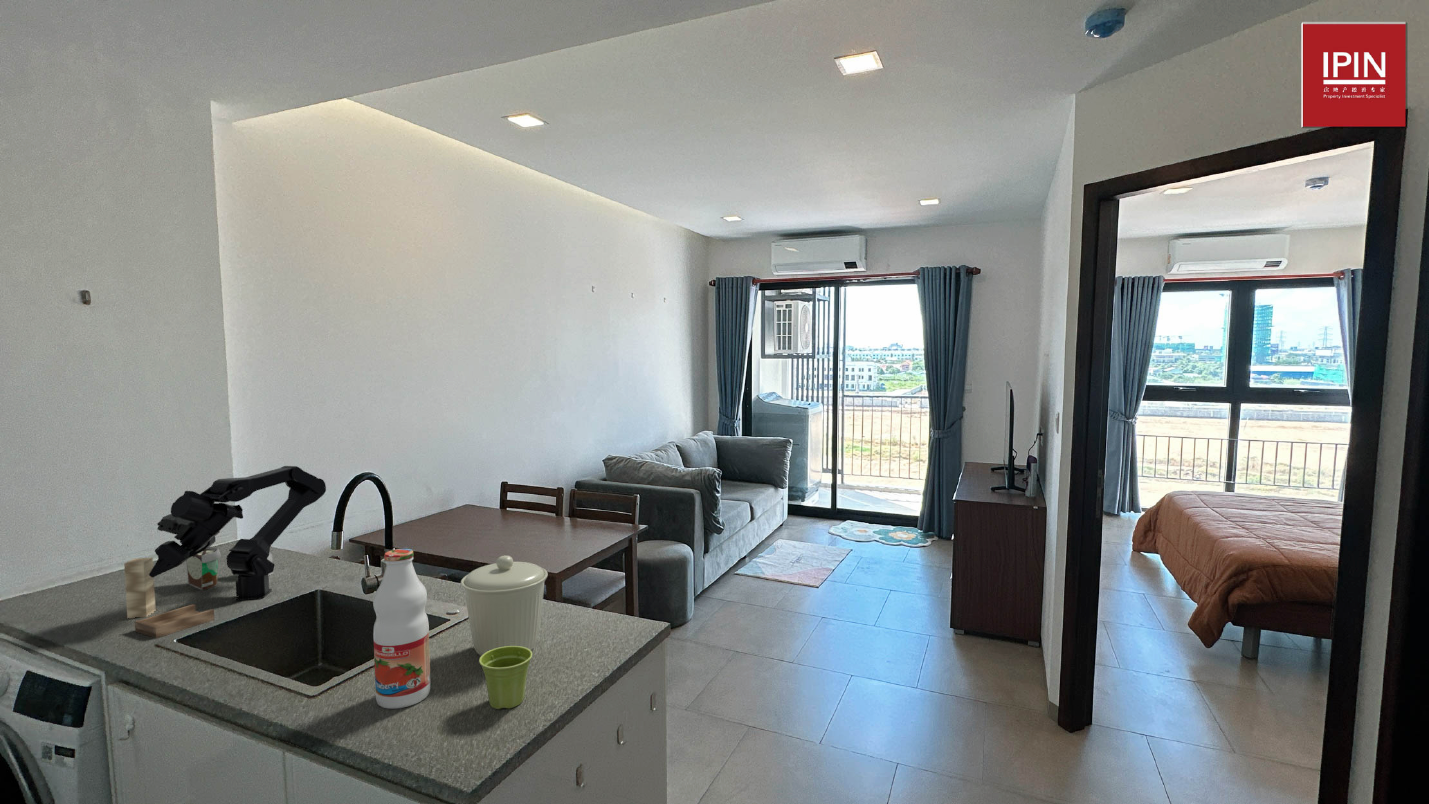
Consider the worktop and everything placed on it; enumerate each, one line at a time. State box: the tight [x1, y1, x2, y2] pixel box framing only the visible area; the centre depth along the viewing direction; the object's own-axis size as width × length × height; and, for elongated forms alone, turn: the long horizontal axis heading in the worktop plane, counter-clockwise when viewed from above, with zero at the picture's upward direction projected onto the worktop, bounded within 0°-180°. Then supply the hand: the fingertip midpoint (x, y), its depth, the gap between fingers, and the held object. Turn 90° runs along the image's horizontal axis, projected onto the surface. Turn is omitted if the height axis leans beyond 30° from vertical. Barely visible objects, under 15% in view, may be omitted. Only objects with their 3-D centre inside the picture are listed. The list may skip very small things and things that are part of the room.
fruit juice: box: [372, 548, 431, 710], centre depth 123 cm, size 9×9×28 cm
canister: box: [460, 555, 549, 657], centre depth 143 cm, size 18×18×21 cm
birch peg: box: [123, 556, 156, 619], centre depth 164 cm, size 4×4×14 cm
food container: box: [185, 546, 222, 591], centre depth 187 cm, size 12×6×10 cm, turn 58°
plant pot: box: [478, 646, 533, 710], centre depth 121 cm, size 9×9×9 cm
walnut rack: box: [134, 604, 215, 639], centre depth 158 cm, size 12×9×2 cm
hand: (160, 570), depth 165 cm, fingers open, 9 cm apart
